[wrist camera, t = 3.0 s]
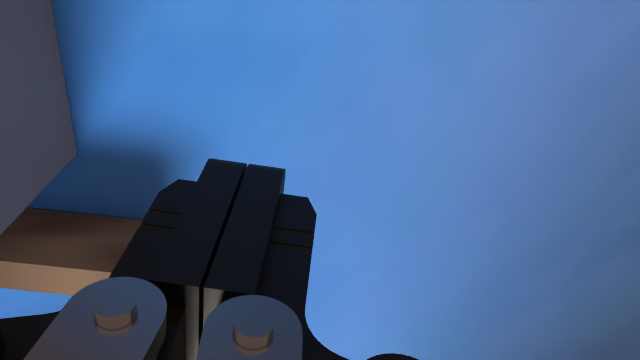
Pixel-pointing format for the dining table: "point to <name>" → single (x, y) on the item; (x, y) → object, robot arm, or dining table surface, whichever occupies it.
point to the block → (30, 106)
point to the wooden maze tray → (61, 250)
